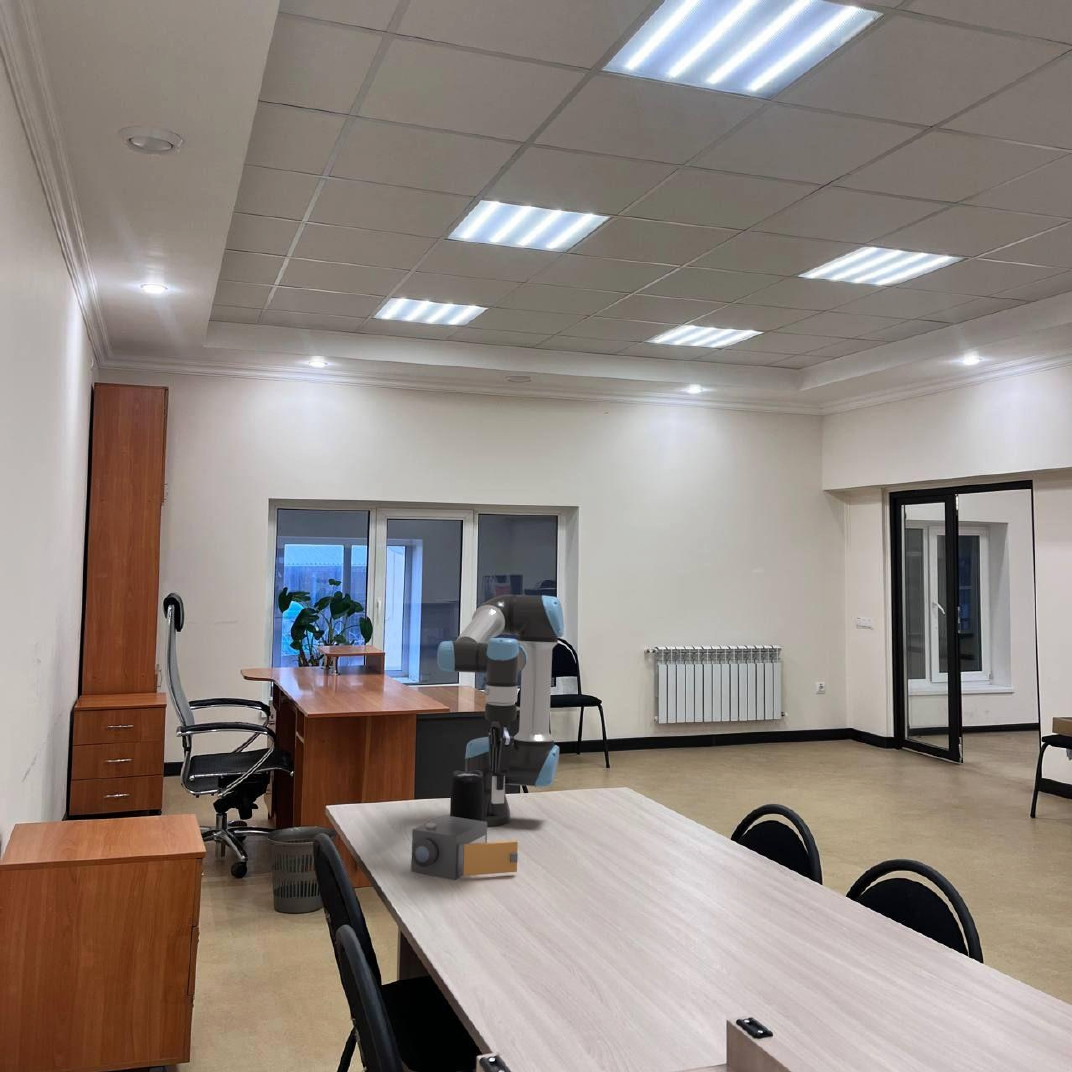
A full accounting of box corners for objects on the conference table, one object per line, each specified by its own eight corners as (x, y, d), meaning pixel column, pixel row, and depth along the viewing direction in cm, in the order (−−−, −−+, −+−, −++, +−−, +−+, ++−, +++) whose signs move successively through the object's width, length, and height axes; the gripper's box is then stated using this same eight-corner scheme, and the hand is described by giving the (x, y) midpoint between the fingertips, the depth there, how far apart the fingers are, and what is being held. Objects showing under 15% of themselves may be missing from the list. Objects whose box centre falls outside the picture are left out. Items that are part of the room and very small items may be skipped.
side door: (515, 870, 229) (516, 840, 230) (517, 872, 227) (518, 842, 228) (457, 874, 225) (458, 844, 225) (459, 877, 223) (460, 846, 223)
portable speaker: (479, 843, 254) (482, 768, 254) (484, 854, 244) (487, 776, 245) (447, 844, 252) (450, 768, 253) (450, 855, 243) (453, 776, 243)
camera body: (443, 855, 242) (445, 812, 243) (486, 863, 237) (488, 818, 237) (404, 874, 226) (406, 828, 227) (449, 883, 221) (451, 836, 221)
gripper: (478, 699, 236) (475, 797, 235) (494, 707, 224) (490, 810, 223) (507, 699, 239) (504, 795, 238) (524, 706, 227) (521, 808, 226)
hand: (497, 802), depth 230 cm, fingers closed
